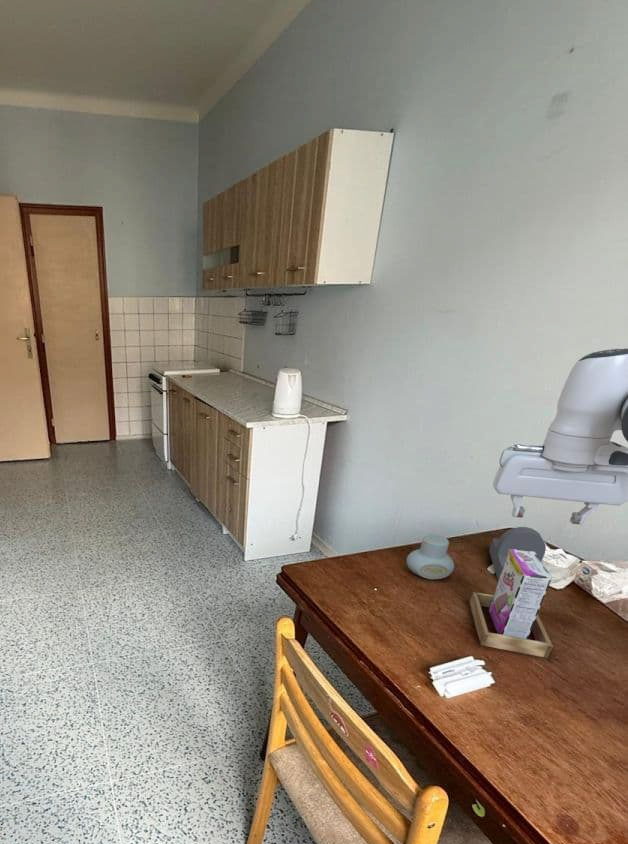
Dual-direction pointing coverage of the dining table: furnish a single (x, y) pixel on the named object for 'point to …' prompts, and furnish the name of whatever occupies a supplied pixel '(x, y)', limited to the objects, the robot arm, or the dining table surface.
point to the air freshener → (431, 558)
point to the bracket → (515, 545)
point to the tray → (508, 642)
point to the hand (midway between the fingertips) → (545, 519)
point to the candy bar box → (519, 594)
